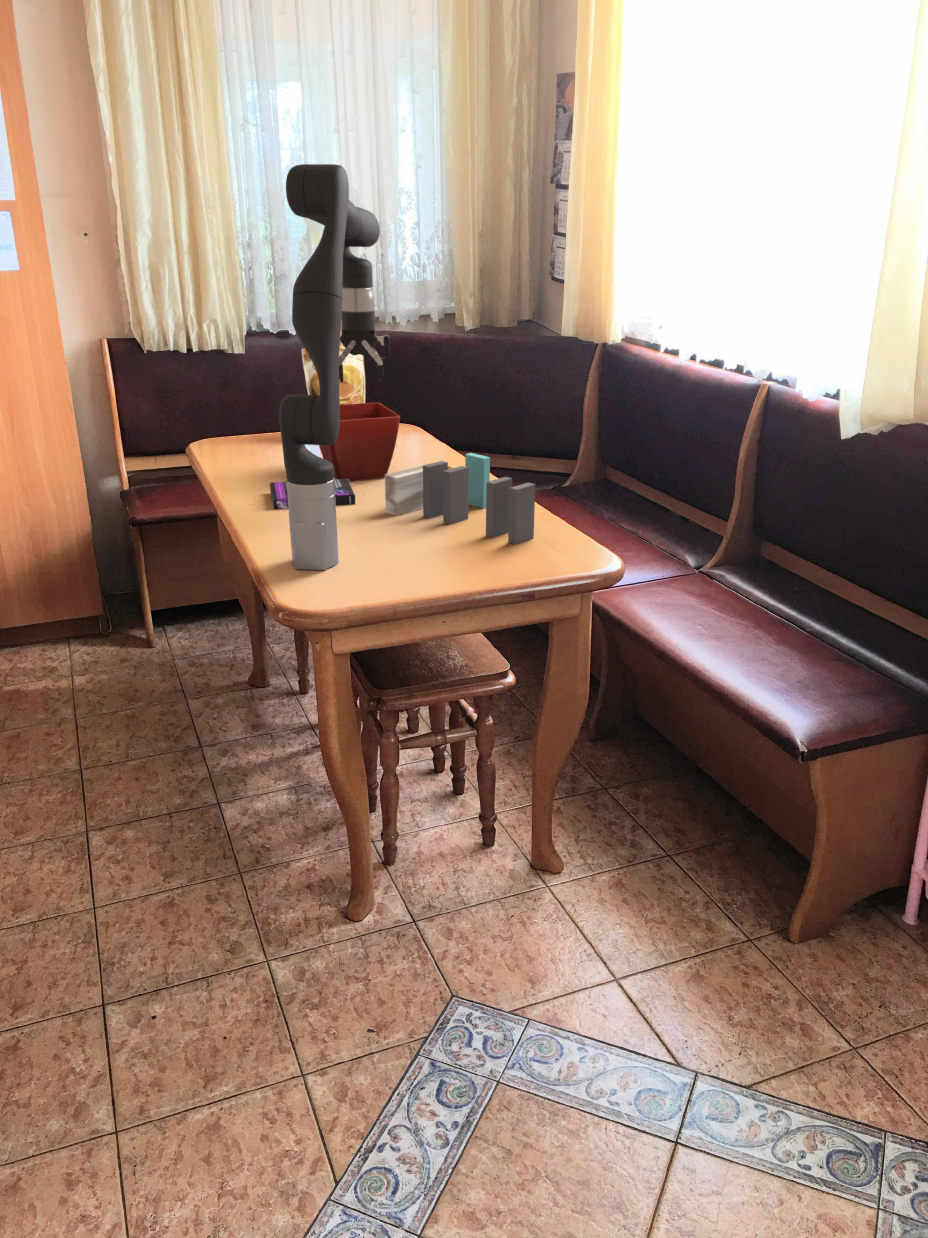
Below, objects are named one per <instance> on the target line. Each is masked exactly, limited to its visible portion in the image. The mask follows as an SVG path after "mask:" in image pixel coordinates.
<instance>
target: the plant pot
mask: <svg viewBox="0 0 928 1238" xmlns="http://www.w3.org/2000/svg"><path fill="white" fill-rule="evenodd" d="M400 419H401V415H399V414H398V413H396V412H395V411H393V410H392V409H390V408H388V407H387V406H385V405H384V404H382V403H381V402H365V403H359V404H343V405H340V427H339V434H338V438H337V440H336V442H335V443H334V444H332V445H318V446H319V449H320V453H321V455H322V458H323V459H325V460H327V461H329V462H331V463H332V465H333V467H334V479H348V480H349V482H355V481H367V480H375V479H385V475H386V474H388V471H389V470H390V465H391V462H392V459H393V456H394V453H395V448H396V445H397V444H396V443H397V439H398V434H399V430H400V429H399V428H400V421H401V420H400Z"/></svg>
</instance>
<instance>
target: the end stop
mask: <svg viewBox="0 0 928 1238" xmlns="http://www.w3.org/2000/svg"><path fill="white" fill-rule="evenodd" d="M427 464H428V463H425V465H427ZM423 465H424V464H423ZM423 465H419V466H418V465H417V466H415V467H410V468H407V469H402V470H398V471H395V472H390V473H387V474H386V475H385V478H384V496H385V513H386V514H389V515H393V516H396V517H399V516H402V515H406V514H410V513H412V512H416V511H420V510H423Z"/></svg>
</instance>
